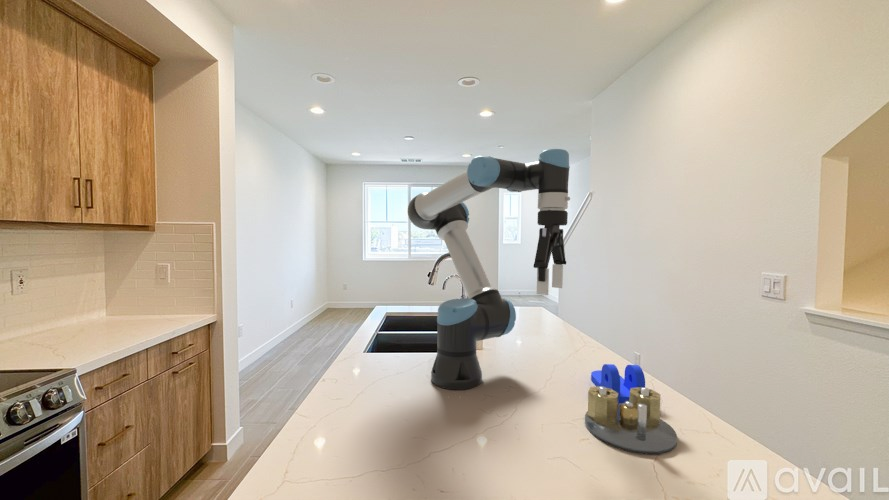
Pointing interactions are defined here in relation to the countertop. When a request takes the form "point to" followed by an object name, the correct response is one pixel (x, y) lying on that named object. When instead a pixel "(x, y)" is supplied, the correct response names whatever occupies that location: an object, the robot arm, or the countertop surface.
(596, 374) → the bracket
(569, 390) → the countertop surface
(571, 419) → the countertop surface
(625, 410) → the carrier
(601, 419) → the octagonal wooden tube
